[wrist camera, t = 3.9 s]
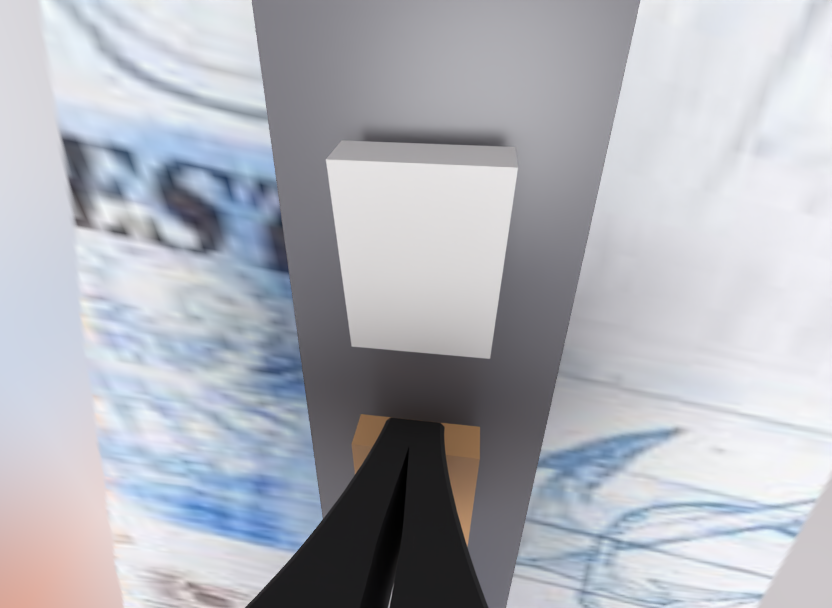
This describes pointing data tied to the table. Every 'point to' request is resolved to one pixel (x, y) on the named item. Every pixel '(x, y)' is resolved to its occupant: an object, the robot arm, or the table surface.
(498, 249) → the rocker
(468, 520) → the peach rectangular tile
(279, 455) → the table surface
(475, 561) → the power strip
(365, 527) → the robot arm
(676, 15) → the table surface
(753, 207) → the table surface
